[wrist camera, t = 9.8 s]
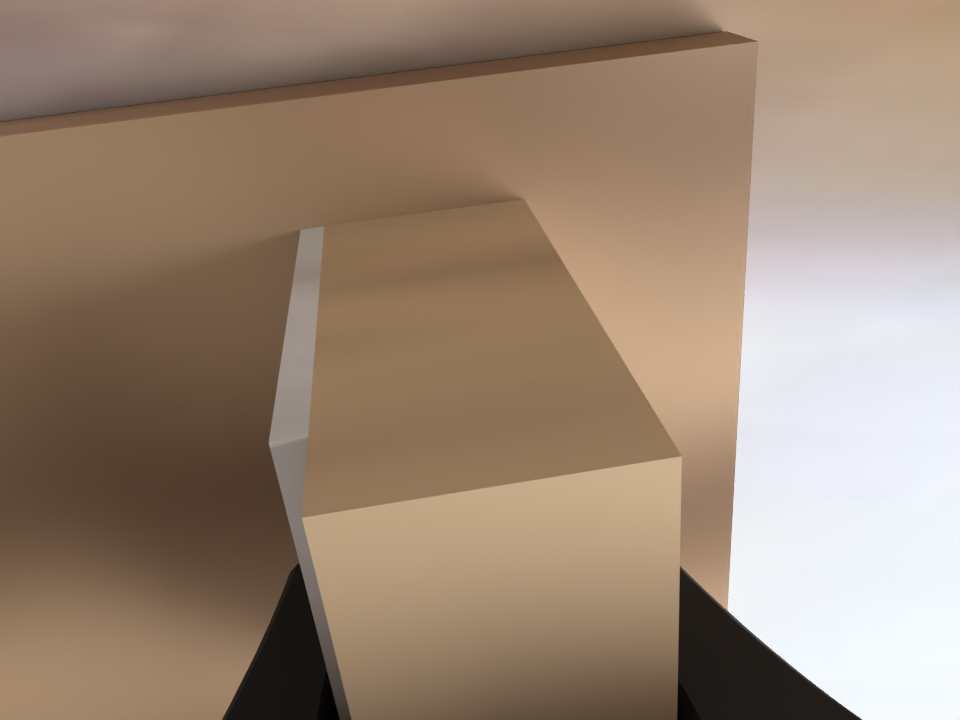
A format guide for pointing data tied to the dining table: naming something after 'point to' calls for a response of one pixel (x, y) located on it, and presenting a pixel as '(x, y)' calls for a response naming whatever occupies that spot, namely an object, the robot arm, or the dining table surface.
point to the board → (263, 317)
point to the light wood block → (473, 478)
